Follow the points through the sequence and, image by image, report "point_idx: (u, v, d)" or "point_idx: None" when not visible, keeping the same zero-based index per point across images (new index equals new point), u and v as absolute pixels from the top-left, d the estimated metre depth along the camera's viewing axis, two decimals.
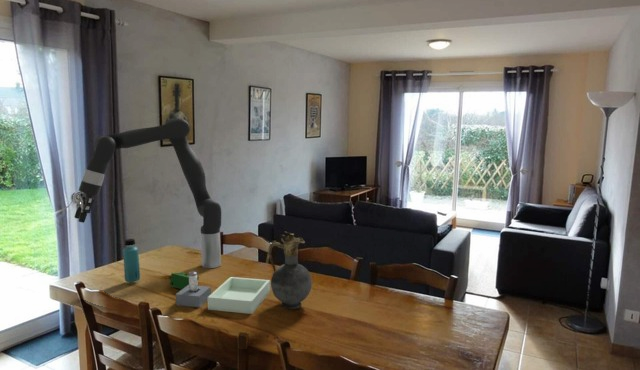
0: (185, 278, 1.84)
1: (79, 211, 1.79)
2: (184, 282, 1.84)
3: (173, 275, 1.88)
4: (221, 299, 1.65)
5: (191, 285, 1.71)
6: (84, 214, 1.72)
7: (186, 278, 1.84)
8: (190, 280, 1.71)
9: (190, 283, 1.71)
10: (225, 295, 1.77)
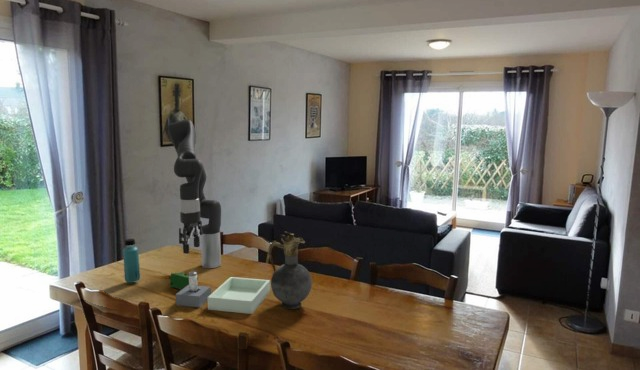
0: (185, 278, 1.84)
1: None
2: (183, 283, 1.84)
3: (173, 275, 1.88)
4: (221, 299, 1.65)
5: (191, 285, 1.71)
6: None
7: (185, 279, 1.84)
8: (190, 280, 1.71)
9: (190, 283, 1.71)
10: (225, 295, 1.77)
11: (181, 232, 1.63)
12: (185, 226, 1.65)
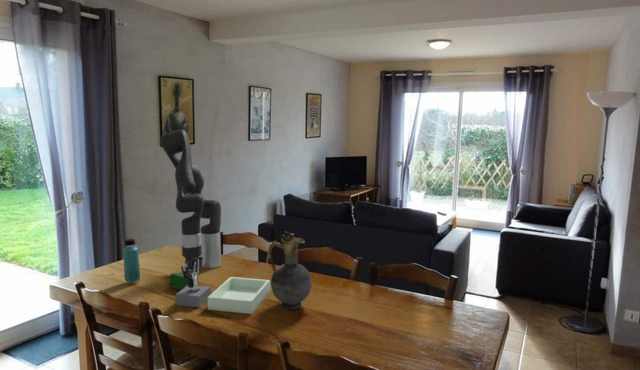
0: None
1: None
2: (183, 283, 1.84)
3: (172, 275, 1.88)
4: (221, 299, 1.65)
5: None
6: None
7: (185, 279, 1.84)
8: None
9: None
10: (225, 295, 1.77)
11: (184, 271, 1.66)
12: (187, 260, 1.68)
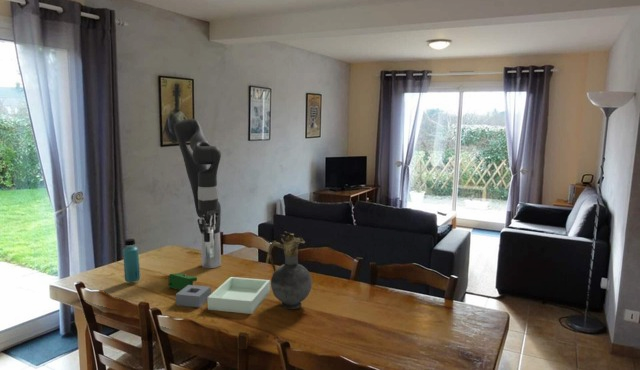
0: (183, 279, 1.84)
1: None
2: (182, 283, 1.84)
3: (171, 276, 1.87)
4: (221, 299, 1.65)
5: None
6: None
7: (184, 279, 1.83)
8: None
9: None
10: (225, 295, 1.77)
11: (200, 223, 1.63)
12: (203, 213, 1.65)
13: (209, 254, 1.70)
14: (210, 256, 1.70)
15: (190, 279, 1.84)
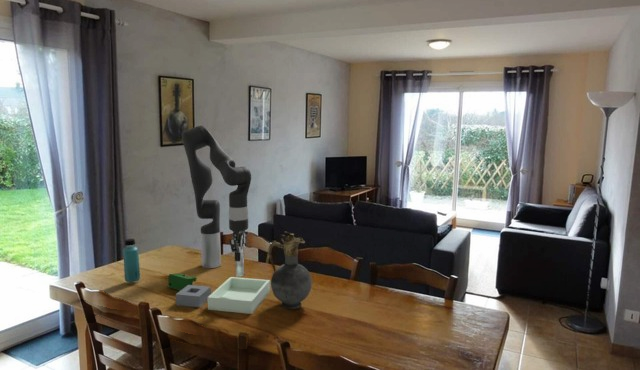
0: (183, 279, 1.83)
1: None
2: (182, 283, 1.83)
3: (171, 276, 1.87)
4: (221, 299, 1.65)
5: None
6: None
7: (184, 279, 1.83)
8: None
9: None
10: (225, 295, 1.77)
11: (232, 243, 1.65)
12: (234, 233, 1.67)
13: (240, 273, 1.72)
14: (240, 275, 1.72)
15: (190, 279, 1.83)
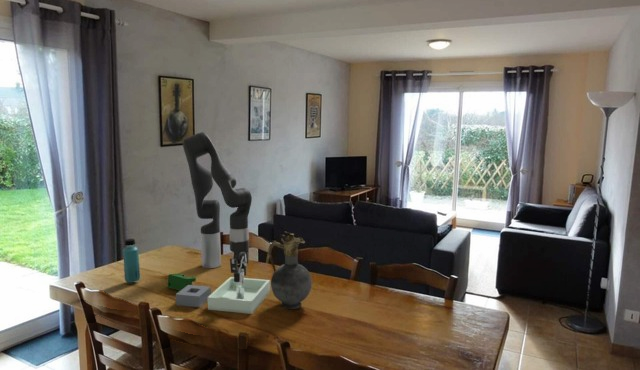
0: (182, 279, 1.83)
1: None
2: (181, 284, 1.83)
3: (170, 276, 1.87)
4: (221, 299, 1.65)
5: (238, 282, 1.72)
6: None
7: (183, 279, 1.83)
8: None
9: None
10: (225, 295, 1.77)
11: (232, 263, 1.66)
12: (235, 255, 1.69)
13: (241, 295, 1.73)
14: (241, 297, 1.74)
15: (189, 279, 1.83)
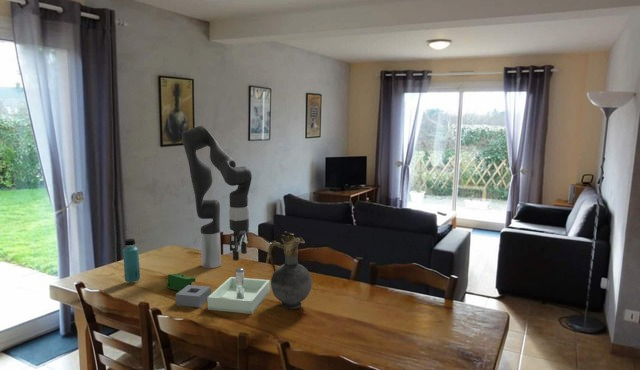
0: (182, 279, 1.83)
1: None
2: (181, 284, 1.83)
3: (170, 276, 1.86)
4: (221, 299, 1.65)
5: (238, 282, 1.73)
6: None
7: (183, 280, 1.83)
8: (237, 277, 1.72)
9: (237, 280, 1.73)
10: (225, 295, 1.77)
11: (232, 240, 1.64)
12: (235, 233, 1.67)
13: (241, 295, 1.73)
14: (241, 297, 1.74)
15: (189, 280, 1.83)
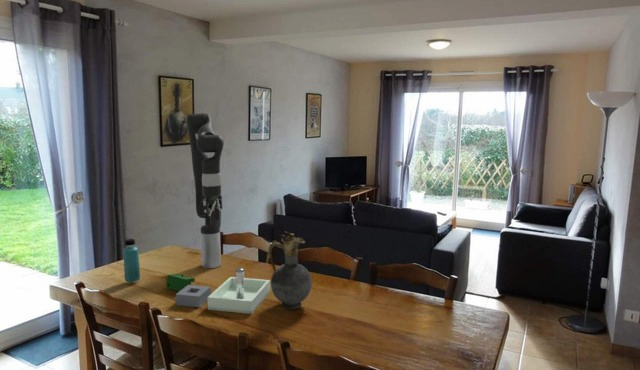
0: (181, 279, 1.83)
1: None
2: (180, 284, 1.83)
3: (169, 276, 1.86)
4: (221, 299, 1.65)
5: (238, 282, 1.73)
6: None
7: (182, 280, 1.82)
8: (237, 277, 1.72)
9: (237, 280, 1.73)
10: (225, 295, 1.77)
11: (204, 204, 1.71)
12: (207, 199, 1.74)
13: (241, 295, 1.73)
14: (241, 297, 1.74)
15: (188, 280, 1.83)
